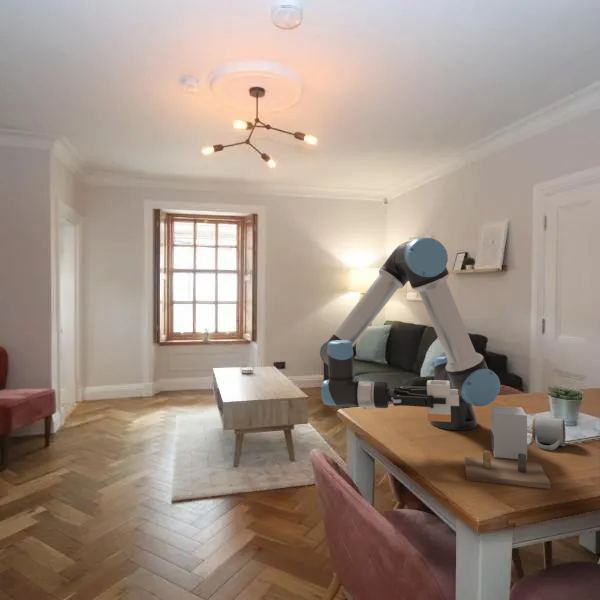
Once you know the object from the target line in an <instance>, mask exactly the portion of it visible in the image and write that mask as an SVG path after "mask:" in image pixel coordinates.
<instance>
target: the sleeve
mask: <svg viewBox="0 0 600 600" xmlns="http://www.w3.org/2000/svg"><path fill="white" fill-rule="evenodd" d="M426 387H427V395H432V396H433V397H434V395H450V381H440V380H435V379H433V380H432V379H429V380H428V379H427V381H426ZM433 406H434V408H431V407H427V421H428V422H430V421H440V422H451V406H446V405H434V404H433Z"/></svg>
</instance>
